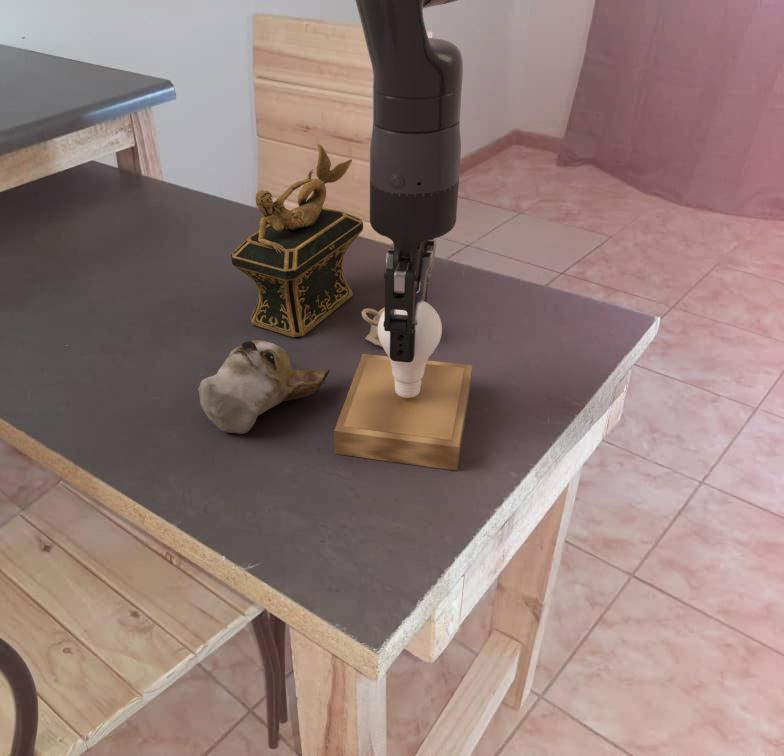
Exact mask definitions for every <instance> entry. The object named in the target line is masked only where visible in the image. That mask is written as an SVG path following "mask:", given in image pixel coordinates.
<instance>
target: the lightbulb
mask: <svg viewBox="0 0 784 756" xmlns="http://www.w3.org/2000/svg"><path fill="white" fill-rule="evenodd" d="M396 314H399V315H407V312H406V311H405V310H396ZM384 319H385V311H384V312H383V313H382V315H381V317H380V319H379V323H378V337H379V341H380V343H381V345H382V347H381V348H382V349H383V350H384V352H385V353H386V356H389V359H390V331H385V330H384V327H383V324H384ZM417 320H418V325H417V326H416V331H415V355H414V359H413V361H412V362H410V363H407V362H398V361H393V360H391V359H390V361H391V365H392V374H393V376H394V380H395V392H396V393H397V394H398V395H399V396H401V397H404V398H412V397H415V396H417V395H418V394H419V392H420V386H421V379H422V377H423V375H424V369H425V365H426V362H427V361H429V357H431V356H432V354H433V353H434V352H435V350H436V349H437V346H438V345H439V344H440V341H441V338H442V335H443V334H442V333H443V326H442V320H441V317H440V315H439V314H438V312H437V311H436V309H435V308H434V307H433V306H432V305H431V304H429V303H428V301H427V302H425V301H424V302H423V303H421V304H419V306H418V315H417Z"/></svg>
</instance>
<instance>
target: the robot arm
mask: <svg viewBox="0 0 784 756" xmlns="http://www.w3.org/2000/svg"><path fill="white" fill-rule="evenodd" d="M455 2H458V0H355V5H356V8H357V12H358V16H359V20H360V24H361V27H362V33H363V36H364V40H365V45H366V48H367V51H368V52H367V53H368V57H369V60H370V63H371V70H372V75H373V76H372V77H373V80H372V131H371V138H370V144H369V145H370V146H369V224H370V226H371V228H372V229H373V231H374V232H375V233H377V234H378V235H380V236H382V237H386V238H388V239H389V240H391V245H390V246H391V249H390V248H389V249H387V251H386V257H385V258H386V259H385V267H386V269H385V272H384V273H383V279H384V307H385V319H384V324H383V327H384V330H385V331H390V359H391V360H393V361H398V362H407V363H410V362H412V361H413V359H414V355H415V331H416V326H417V325H418V320H417V315H418V306H419V304H421V303H423V302H424V301H425V302H427V303H428V285H429V283H430V280H431V279H432V273H433V271H434V266H435V257H436V250H437V240H436V239H438V238H441V237H443V236H444V235H447V234H448V233H449V232H450V231H452V230H453V228H455V226H456V223H457V216H458V215H457V212H458V198H459V185H460V171H461V170H460V169H461V156H462V155H461V153H462V139H461V127H460V125H461V120H460V119H461V105H462V90H463V89H462V88H463V76H464V67H463V66H464V65H463V64H464V63H463V62H464V61H463V56H462V51H461V50H460V49H459V48H458V46H457V45H456V44H454V43H452V42H450V41H449V40H445V39H441V38H434V37H429V36H428V31H427V28H426V25H425V24H426V23H425V19H424V13H423V12H424V11H423V10H424V9H427V8H432V7H435V6H436V7H437V6H441V5H442V6H443V5H445V4H451V3H455ZM396 310H405V311H406V312H407V315H399V314H396Z"/></svg>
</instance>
